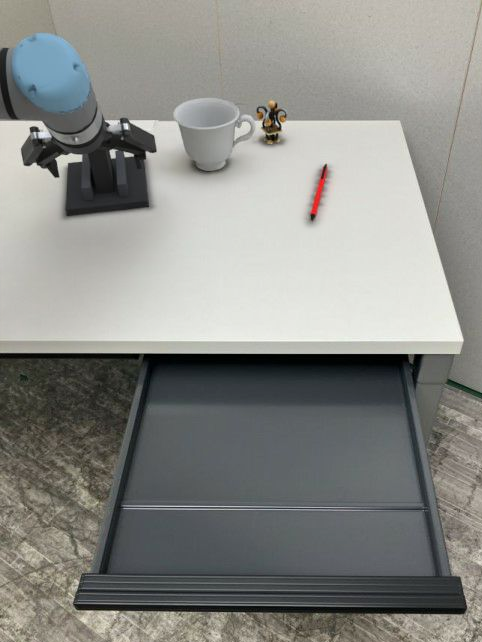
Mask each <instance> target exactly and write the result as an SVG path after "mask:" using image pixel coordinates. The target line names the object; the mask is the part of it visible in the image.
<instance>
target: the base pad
mask: <svg viewBox="0 0 482 642" xmlns="http://www.w3.org/2000/svg"><path fill="white" fill-rule="evenodd" d="M114 152H115V153H114V154H115V155H114V156H115V157H113V158H112V157H111V160H112V164H113V169H114V183H115V192H109V193H101V194H98V192H97V188H96V184H95V181H94V177H93V173H92V169H91V165H90V161H89V157H88V154H83V155H81V161H73V162H68V163H67V171H66V172H67V174H66V175H67V176H66V195H65V213H66V215H67V217H69V216H77V215H85V214H95V213H105V212H113V211H122V210H129V209H130V210H131V209H140V208H149V207H150V204H149V203H150V202H149V196H148V194H149V193H148V187H147V186H148V185H147V179H146V178H147V177H146V170H145V160H141V166H142V169H137V166H136V162H135V159H134V155H133V156H126V155H125V152H123V151H119V150H115V151H114Z"/></svg>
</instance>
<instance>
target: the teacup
mask: <svg viewBox="0 0 482 642" xmlns="http://www.w3.org/2000/svg"><path fill="white" fill-rule="evenodd" d="M240 113H241V112H240V109H239V108H238V106H237V105H235V104H234V103H233V102H231V101H228V100H226V99H222V98H217V97H202V98H201V97H200V98H193V99H190V100H187V101H184V102H182V103H181V104H179V105H178V106H177V107H176V108H175V109H174V110H173V112H172V118H173V120H174V121H175V123H177V125H178V129H179V133H180V135H181V139H182V144H183V147H184V150H185V152H186V154H187V157H189V159H191V161H194V162H195V166H196V167H197V168H198V169H200V170H201V171H207V172H212V171H213V172H214V171H218V170H221V169H223V168H224V167H225V165H226V164H227V163H226V160H227V159H229V158H230V156H231V155H232V153H233V150H234V149H235V147H236V146H237V145H238V144H239V143H242V142H245V141H248V140H249V139H251V138H252V137H253V135H254V134H255V132H256V122H255V120H254V118H253V117H252V116H251V115H250V114H243V115H241V116H240ZM243 122H247V123H248V124H249V126H250V129H249V131H248V132H247V133H245V134H242V135H239V136H238V137H237V138H236V139H235V133H236V128H238V129H241V127H242V124H243Z"/></svg>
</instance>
